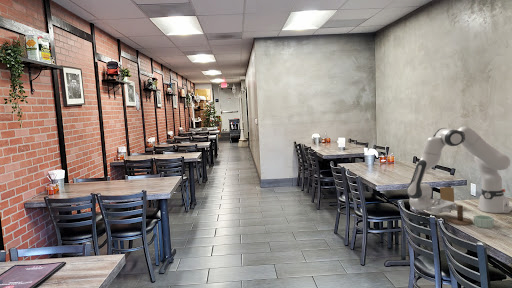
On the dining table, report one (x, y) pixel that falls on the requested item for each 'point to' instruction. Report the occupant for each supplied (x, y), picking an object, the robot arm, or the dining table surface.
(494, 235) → the dining table surface
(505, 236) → the dining table surface
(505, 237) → the dining table surface
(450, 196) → the sandwich container
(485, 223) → the celadon bowl
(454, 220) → the walnut lid
